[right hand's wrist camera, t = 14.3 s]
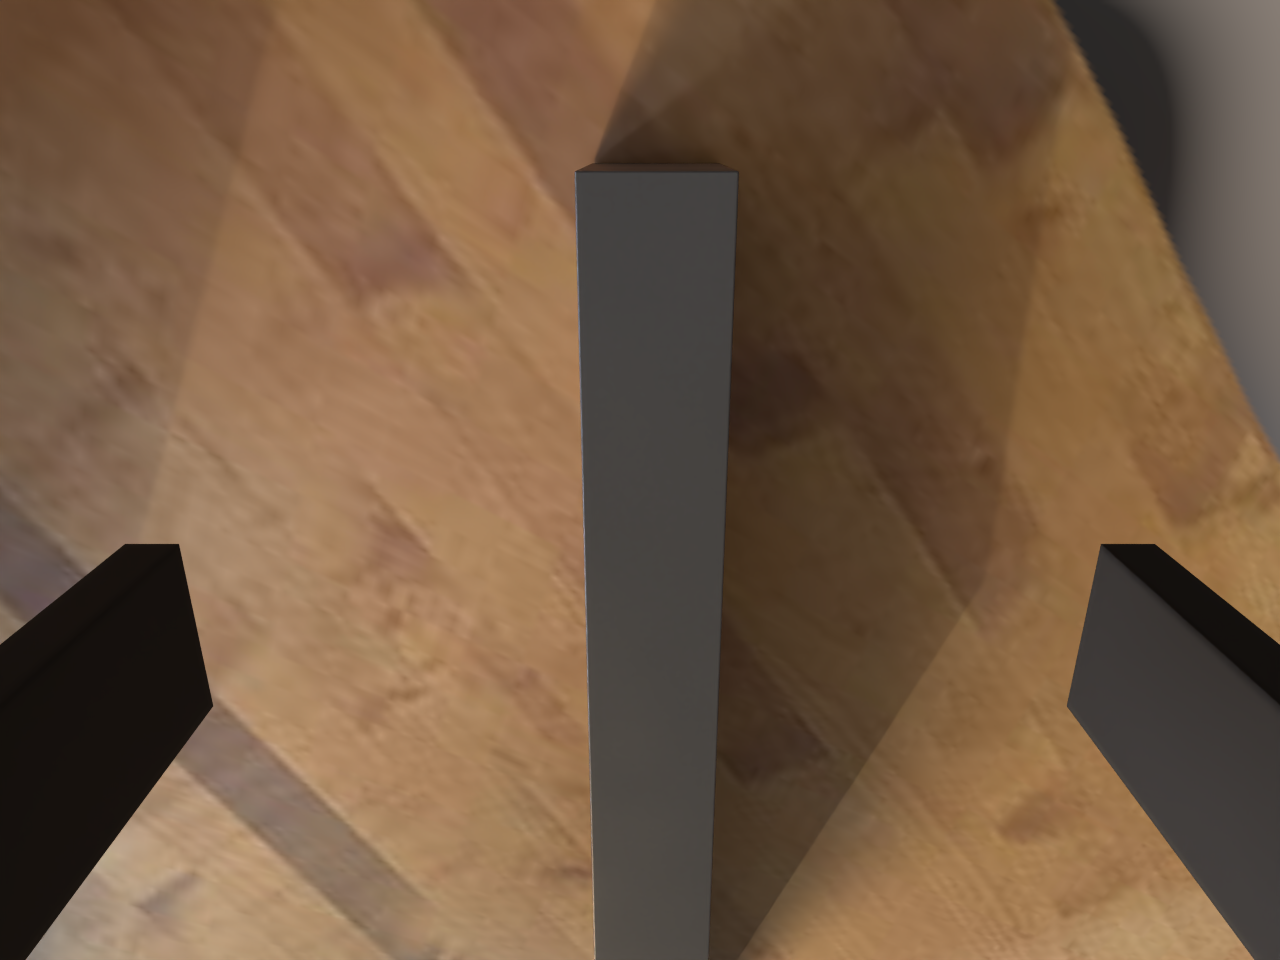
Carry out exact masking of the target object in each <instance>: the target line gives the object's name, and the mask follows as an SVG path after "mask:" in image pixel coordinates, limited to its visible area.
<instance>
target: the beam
mask: <svg viewBox="0 0 1280 960" xmlns="http://www.w3.org/2000/svg"><path fill="white" fill-rule="evenodd" d="M738 182H739V172H738V171H736V170H734V169H731V168H729V167H726V166H724V165H722V164H674V163H593V164H590V165H588V166H586V167H584V168H582V169H579V170H577V171H575V204H576V244H577V284H578V324H579V365H580V405H581V445H582V485H583V525H584V566H585V606H586V646H587V686H588V726H589V766H590V807H591V847H592V887H593V927H594V960H709V938H710V912H711V886H712V860H713V834H714V808H715V782H716V756H717V730H718V703H719V677H720V651H721V625H722V599H723V573H724V547H725V521H726V495H727V469H728V443H729V417H730V391H731V365H732V339H733V313H734V287H735V261H736V235H737V208H738Z"/></svg>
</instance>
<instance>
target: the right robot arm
mask: <svg viewBox="0 0 1280 960" xmlns="http://www.w3.org/2000/svg"><path fill="white" fill-rule="evenodd" d="M212 707H213V703H212V698H211V693H210V689H209V684H208V679H207V674H206V670H205V665H204V660H203V656H202V651H201V646H200V641H199V637H198V632H197V627H196V622H195V618H194V613H193V608H192V604H191V599H190V594H189V589H188V585H187V580H186V575H185V570H184V566H183V561H182V556H181V551H180V547H179V544H125V545H123V546H122V547H121V548H120V549H118V550H117V551H116V552H115V553H113V554H112V555H111V556H110V557H109V558H107V559H106V560H105V561H104V562H102V563H101V564H100V565H99V566H97V567H96V568H95V569H94V570H92V571H91V572H90V573H89V574H87V575H86V576H85V577H84V578H82V579H81V580H80V581H79V582H77V583H76V584H75V585H74V586H73V587H71V588H70V589H69V590H68V591H66V592H65V593H64V594H63V595H61V596H60V597H59V598H58V599H56V600H55V601H54V602H53V603H51V604H50V605H49V606H48V607H46V608H45V609H44V610H43V611H42V612H40V613H39V614H38V615H37V616H35V617H34V618H33V619H32V620H30V621H29V622H28V623H27V624H25V625H24V626H23V627H22V628H20V629H19V630H18V631H17V632H15V633H14V634H13V635H12V636H10V637H9V638H8V639H7V640H6V641H4V642H3V643H2V644H1V645H0V960H26V958H27V957H28V956H29V954H30V953H31V952H32V950H33V949H34V948H35V946H36V945H37V944H38V942H39V941H40V940H41V938H42V937H43V935H44V934H45V933H46V931H47V930H48V929H49V927H50V926H51V925H52V923H53V922H54V921H55V919H56V918H57V917H58V915H59V914H60V913H61V911H62V910H63V908H64V907H65V906H66V904H67V903H68V902H69V900H70V899H71V898H72V896H73V895H74V894H75V892H76V891H77V890H78V888H79V887H80V885H81V884H82V883H83V881H84V880H85V879H86V877H87V876H88V875H89V873H90V872H91V871H92V869H93V868H94V867H95V865H96V864H97V862H98V861H99V860H100V858H101V857H102V856H103V854H104V853H105V852H106V850H107V849H108V848H109V846H110V845H111V844H112V842H113V841H114V840H115V838H116V837H117V835H118V834H119V833H120V831H121V830H122V829H123V827H124V826H125V825H126V823H127V822H128V821H129V819H130V818H131V817H132V815H133V814H134V812H135V811H136V810H137V808H138V807H139V806H140V804H141V803H142V802H143V800H144V799H145V798H146V796H147V795H148V794H149V792H150V791H151V789H152V788H153V787H154V785H155V784H156V783H157V781H158V780H159V779H160V777H161V776H162V775H163V773H164V772H165V771H166V769H167V768H168V766H169V765H170V764H171V762H172V761H173V760H174V758H175V757H176V756H177V754H178V753H179V752H180V750H181V749H182V748H183V746H184V745H185V744H186V742H187V741H188V739H189V738H190V737H191V735H192V734H193V733H194V731H195V730H196V729H197V727H198V726H199V725H200V723H201V722H202V721H203V719H204V718H205V716H206V715H207V714H208V712H209V711H210V710H211V708H212ZM1067 707H1068V708H1069V710H1070V711H1071V712H1072V714H1073V715H1074V716H1075V718H1076V719H1077V721H1078V722H1079V723H1080V725H1081V726H1082V727H1083V729H1084V730H1085V731H1086V733H1087V734H1088V735H1089V737H1090V738H1091V739H1092V741H1093V742H1094V744H1095V745H1096V746H1097V748H1098V749H1099V750H1100V752H1101V753H1102V754H1103V756H1104V757H1105V758H1106V760H1107V761H1108V762H1109V764H1110V765H1111V766H1112V768H1113V769H1114V771H1115V772H1116V773H1117V775H1118V776H1119V777H1120V779H1121V780H1122V781H1123V783H1124V784H1125V785H1126V787H1127V788H1128V789H1129V791H1130V792H1131V794H1132V795H1133V796H1134V798H1135V799H1136V800H1137V802H1138V803H1139V804H1140V806H1141V807H1142V808H1143V810H1144V811H1145V812H1146V814H1147V815H1148V817H1149V818H1150V819H1151V821H1152V822H1153V823H1154V825H1155V826H1156V827H1157V829H1158V830H1159V831H1160V833H1161V834H1162V835H1163V837H1164V838H1165V840H1166V841H1167V842H1168V844H1169V845H1170V846H1171V848H1172V849H1173V850H1174V852H1175V853H1176V854H1177V856H1178V857H1179V858H1180V860H1181V861H1182V862H1183V864H1184V865H1185V867H1186V868H1187V869H1188V871H1189V872H1190V873H1191V875H1192V876H1193V877H1194V879H1195V880H1196V881H1197V883H1198V884H1199V885H1200V887H1201V888H1202V890H1203V891H1204V892H1205V894H1206V895H1207V896H1208V898H1209V899H1210V900H1211V902H1212V903H1213V904H1214V906H1215V907H1216V908H1217V910H1218V911H1219V913H1220V914H1221V915H1222V917H1223V918H1224V919H1225V921H1226V922H1227V923H1228V925H1229V926H1230V927H1231V929H1232V930H1233V931H1234V933H1235V934H1236V935H1237V937H1238V938H1239V940H1240V941H1241V942H1242V944H1243V945H1244V946H1245V948H1246V949H1247V950H1248V952H1249V953H1250V954H1251V956H1252V957H1253V958H1254V960H1280V645H1279V644H1278V643H1277V642H1276V641H1274V640H1273V639H1272V638H1271V637H1269V636H1268V635H1267V634H1266V633H1265V632H1263V631H1262V630H1261V629H1260V628H1258V627H1257V626H1256V625H1255V624H1253V623H1252V622H1251V621H1250V620H1248V619H1247V618H1246V617H1245V616H1243V615H1242V614H1241V613H1240V612H1238V611H1237V610H1236V609H1235V608H1234V607H1232V606H1231V605H1230V604H1229V603H1227V602H1226V601H1225V600H1224V599H1222V598H1221V597H1220V596H1219V595H1217V594H1216V593H1215V592H1214V591H1212V590H1211V589H1210V588H1209V587H1207V586H1206V585H1205V584H1204V583H1203V582H1201V581H1200V580H1199V579H1198V578H1196V577H1195V576H1194V575H1193V574H1191V573H1190V572H1189V571H1188V570H1186V569H1185V568H1184V567H1183V566H1181V565H1180V564H1179V563H1178V562H1176V561H1175V560H1174V559H1173V558H1171V557H1170V556H1169V555H1168V554H1167V553H1165V552H1164V551H1163V550H1162V549H1160V548H1159V547H1158V546H1157V545H1155V544H1101V547H1100V551H1099V556H1098V561H1097V566H1096V570H1095V575H1094V580H1093V585H1092V589H1091V594H1090V599H1089V604H1088V608H1087V613H1086V618H1085V622H1084V627H1083V632H1082V637H1081V641H1080V646H1079V651H1078V656H1077V660H1076V665H1075V670H1074V674H1073V679H1072V684H1071V689H1070V693H1069V698H1068V703H1067Z"/></svg>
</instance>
